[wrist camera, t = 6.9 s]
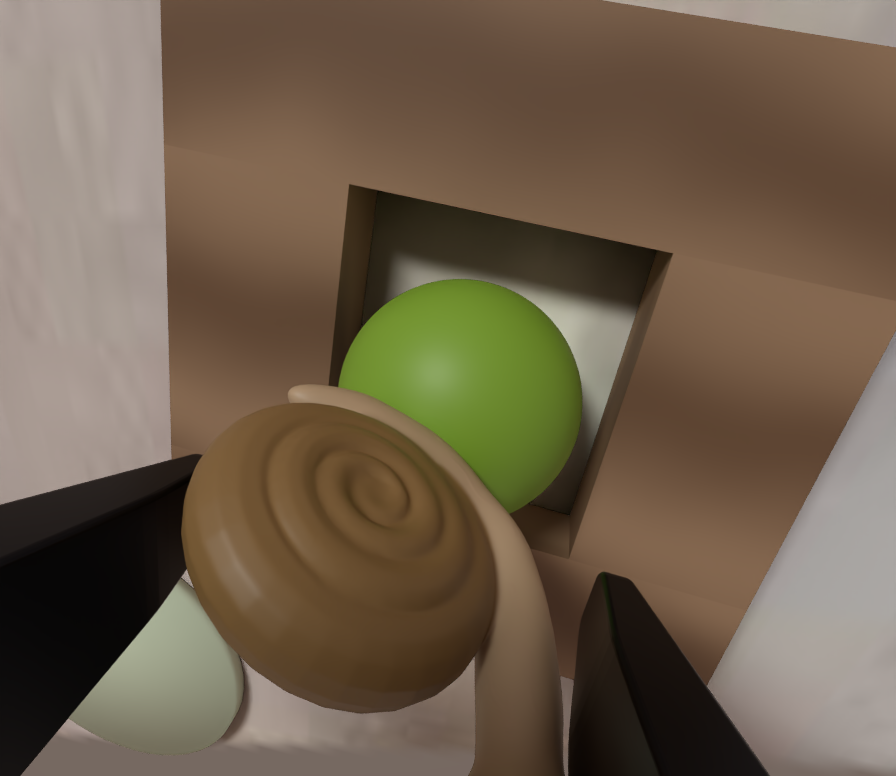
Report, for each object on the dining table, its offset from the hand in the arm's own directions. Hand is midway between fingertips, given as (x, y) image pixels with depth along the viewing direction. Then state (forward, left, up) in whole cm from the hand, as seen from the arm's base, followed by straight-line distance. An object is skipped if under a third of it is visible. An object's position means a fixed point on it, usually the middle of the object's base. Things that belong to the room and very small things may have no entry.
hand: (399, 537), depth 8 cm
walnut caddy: (0, 0, -8) cm, 8 cm away
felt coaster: (-16, +12, -8) cm, 22 cm away
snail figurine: (0, 0, -8) cm, 8 cm away
